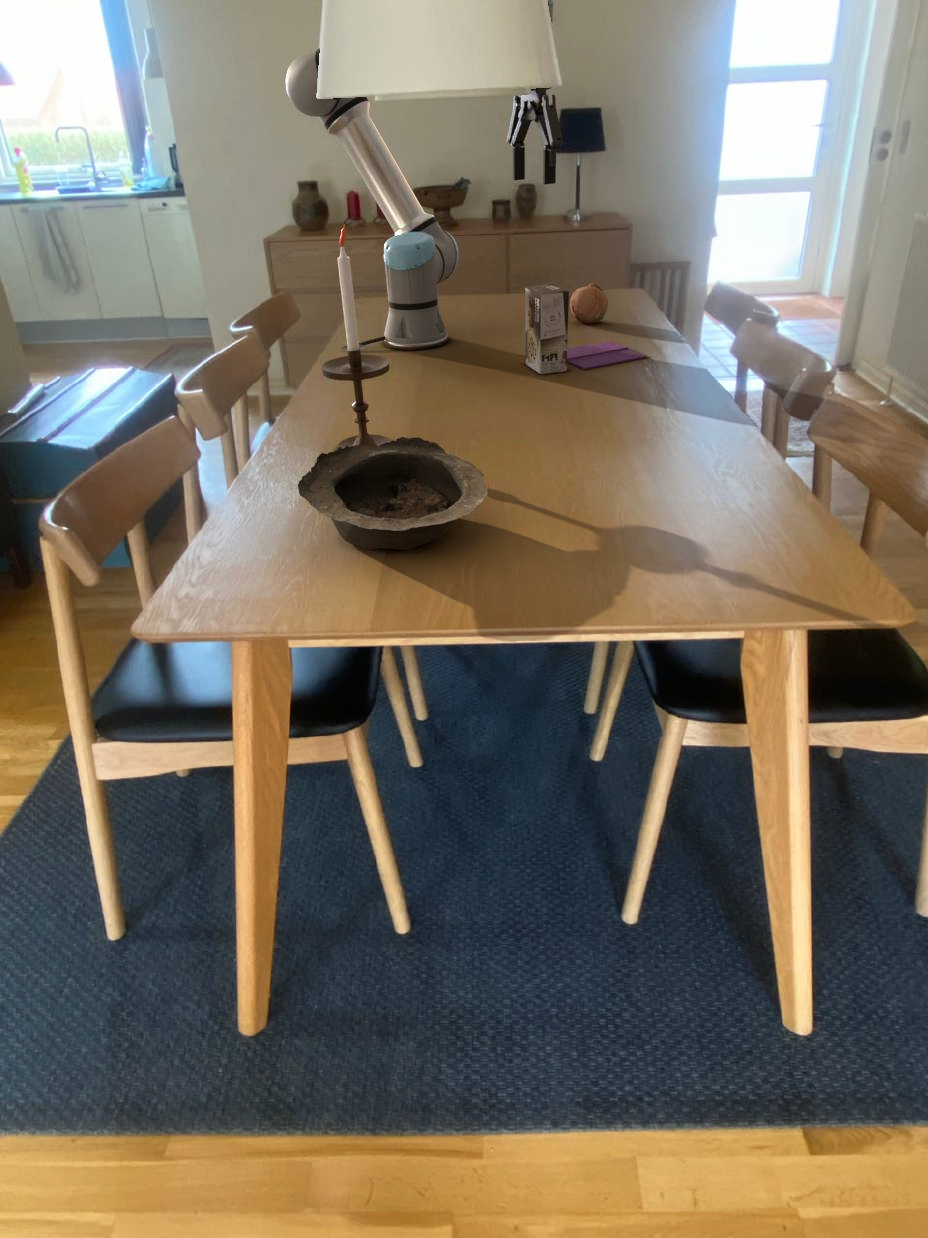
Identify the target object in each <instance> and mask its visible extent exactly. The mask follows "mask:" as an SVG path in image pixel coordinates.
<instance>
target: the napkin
mask: <svg viewBox="0 0 928 1238" xmlns="http://www.w3.org/2000/svg"><path fill="white" fill-rule="evenodd" d="M647 358H648V355H645V354H643V353H641V352H637V351H635V350H633V349H631V348H629V347H628V346H625V345H623V344H620V343H619V342H618V343H617V342H616V341H615V342H614V341H613V340H608V341H602V342H595V343H593V344H585V345H581V346H575V347H574V346H573V347H569V348H567V364H571V365H573V366H575V367H578V368H580V369H582V370H590V369H596V368H601V367H605V366H610V365H616V364H617V365H618V364H621V363H626V362H632V361H637V360H641V359H647Z"/></svg>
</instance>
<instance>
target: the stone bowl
mask: <svg viewBox="0 0 928 1238" xmlns="http://www.w3.org/2000/svg"><path fill="white" fill-rule="evenodd" d="M390 441H391V442H387V443H384V444H382V445H379V446H377V447H370V445H368V446H365V445H362V446H360V445H355V446H351V447H349V446H346V447H345V448H343V449H342V448H341V447H339V448H338V447H337V449H336V450H334V451H329V452H328V453H324V452H321V453H320V454H319V455H318V456H317V457H316V462H314V465H313V466H311V468H310V470H309V471H308V472H307V473H305V475H303V476H301V479H300V480H299V481H298V484H297V489H298V493H299V496H300V497H301V498H303V499H305V500H306V501H307V502H308V503H309V505H310V506H312V507H313V508H314V509H316V511H317V512H318V514H319V515H321V516H323V517H326V518H330V519H331V521H332V523H333V525H334V527H335V529H336V531H337V533H338V534H339V536H340V537H341V538H342V539H343V540H344V541H345V542H346V543H348V544H350V545H356V546H359V547H360V548H362V549H366V550H375V549H387V550H400V551H411V550H414V549H415V548H418V547H419V546H421V545H422V546H423V545H425V544H429V543H431V542H434V541H437V540H439V539H440V538H441V537H443V535H444V534H445V533H446V531H447V530H448V529H449V528H450V527H451V525H452V524H453V523H454V522H455V521H456V520H458V519H460V518H463V517H465V516H467V515H469V514H470V513H472V512H474V510H475V509H476V508H477V507H478V506H479V505H480V504H482V503H483V501H484V500H485V498H487V497H488V488H487V485H486V483H485V480H484V478H485V477H486V476H485V474H484V473H483V472H482V471H481V470H480V469H479V468H478V467H477V466H476V465H475V464H474V463H472V462H470V461H468V460H465V459H462V458H461V457H458V456H456V455H453V454H448V453H447V452H446V450H445V449H444V448H442V447H441V446H440V445H438V442H434V441H430V440H424V439H423V438H422V437H418V436H417V437H406V436H405V437H404V436H402V437H399V438H396V440H390Z"/></svg>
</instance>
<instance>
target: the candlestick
mask: <svg viewBox="0 0 928 1238" xmlns="http://www.w3.org/2000/svg"><path fill="white" fill-rule="evenodd" d="M345 241H346V224H345V223H344V224H343V227H342V229H341V230H340V237H339V241H338V244H339V246H340V249H339V250H340V252H339V256H338V257H336V259H337V267H338V274H339V275H338V276H339V284H340V285H339V286H340V293H341V301H342V311H343V320H344V328H345V336H346V345H344V346H342V347H341V348H340V349H341V351H343V352H347V355H344V356H339V357H336V358H333V359H329V360H327V361H325V362H324V363H323V364H322V365H321V371H322V373H321V374H322V375H323V377H325V378H326V379H329V380H334V381H345V382H347V381H348V382H349V381H351V382H353V389H354V390H353V391H354V399H355V400H354V401H355V402H353V403H352V404H351V408H352V411H353V412H354V413H356V418H354V424H357V427H358V434H357V435H353V436H349V437H347V438H344V439H343V440H341V441H340V442H338V445H337V449H338V448H339V447H341V448H342V449H343V448H345V447H346V446H349V447H351V446H355V445H360V446H362V445H365V446H368V445H370V447H377V446H379V445H382V444H384V443H387V442H391V441H392V440H391V439H390V438H389V437H387V436H385V435H381V434H374V433H373V434H369V432H368V428H367V426H368V425H367V423H369V422H370V418H369V417H367V414H366V412H367V411H368V409H369V406H370V405H369V403H368V402H367V401H365V400H364V391H363V383H362V382H363V381H365V380H369V379H374V378H377V377H381V376H384V375H385V374H387V373H388V372H389V371H390V361H389V359H388V358H386V357H384V356H380V355H374V354H362V350H365V349H366V348H367V346H366V345H359V343H360V340H359V331H358V321H357V313H356V304H355V294H354V285H353V276H352V275H353V274H352V266H351V258H350V256H348V255H347V253H346V250H345V247H344V246H345Z"/></svg>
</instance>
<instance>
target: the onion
mask: <svg viewBox="0 0 928 1238" xmlns="http://www.w3.org/2000/svg"><path fill="white" fill-rule="evenodd" d="M608 307H609V299H608V297H607V294H606V293H605V292H604V290H603V289H602V288H601V286H599V285H598V284H597V283H594V282H592V283H588V284H586V285H584V286H580V287H579V288H577V289H576V290H574V292H573V293H572V295H571V297H570V299H569V308H570V312H571V313H572V315H573V317H575V319H576V321H577V322H580V324H583V325H586V324H587V325H588V324H595V323H600V321H602V320H603V319H604V317H605V315H606V314H607V311H608Z"/></svg>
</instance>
